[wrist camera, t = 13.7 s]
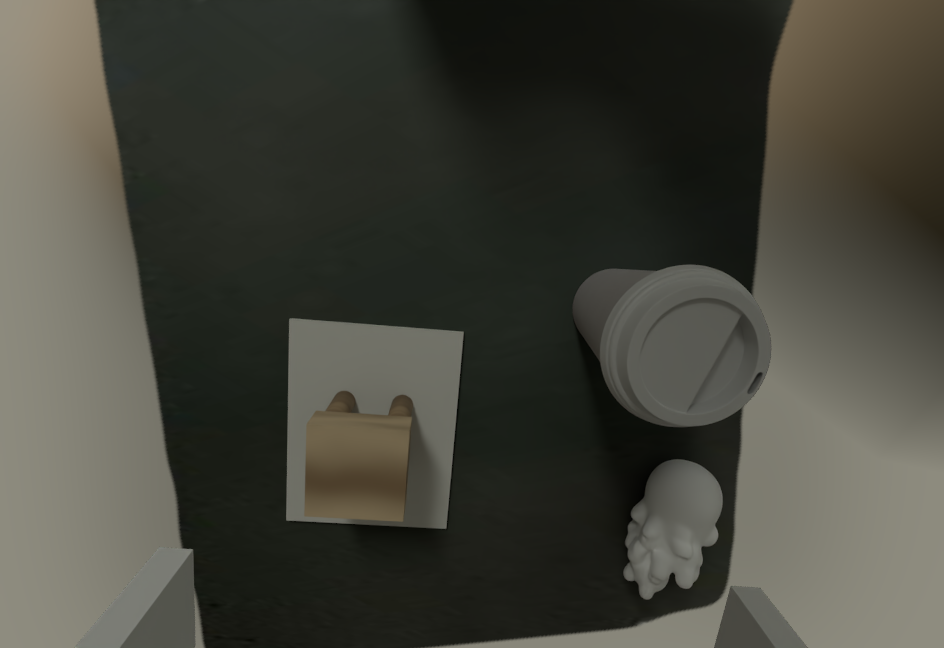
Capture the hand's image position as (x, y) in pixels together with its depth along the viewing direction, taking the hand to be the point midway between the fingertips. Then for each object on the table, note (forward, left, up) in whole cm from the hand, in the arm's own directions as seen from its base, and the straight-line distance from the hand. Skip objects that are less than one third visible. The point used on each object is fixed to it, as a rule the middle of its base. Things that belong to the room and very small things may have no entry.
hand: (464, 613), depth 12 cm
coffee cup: (-3, +13, -30) cm, 33 cm away
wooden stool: (+9, -6, -29) cm, 31 cm away
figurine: (+15, +20, -30) cm, 39 cm away
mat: (+9, -6, -30) cm, 32 cm away
